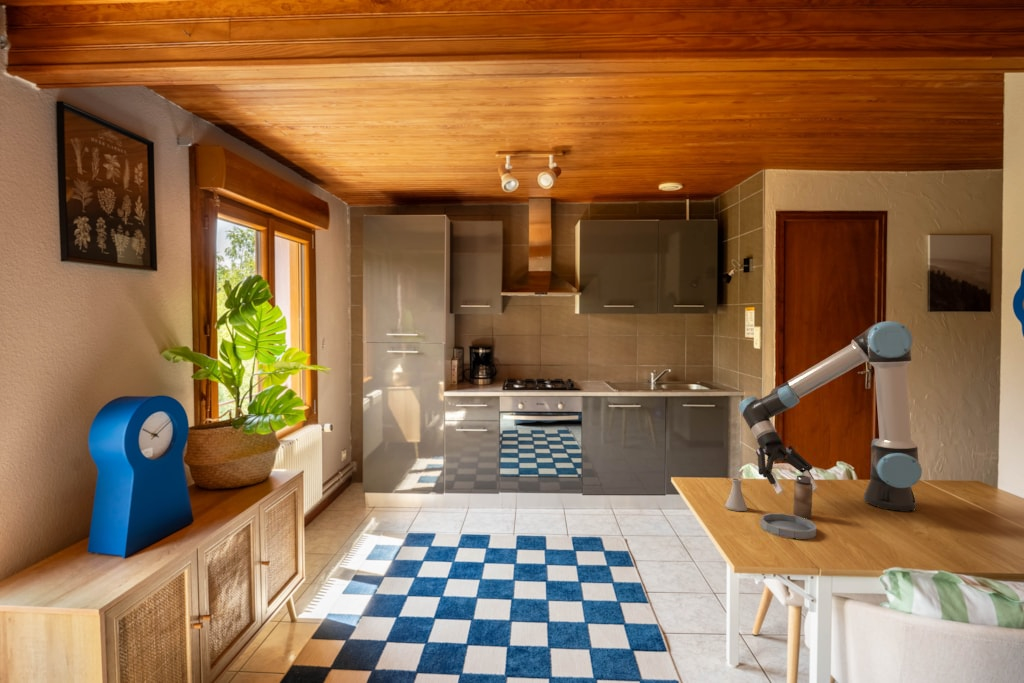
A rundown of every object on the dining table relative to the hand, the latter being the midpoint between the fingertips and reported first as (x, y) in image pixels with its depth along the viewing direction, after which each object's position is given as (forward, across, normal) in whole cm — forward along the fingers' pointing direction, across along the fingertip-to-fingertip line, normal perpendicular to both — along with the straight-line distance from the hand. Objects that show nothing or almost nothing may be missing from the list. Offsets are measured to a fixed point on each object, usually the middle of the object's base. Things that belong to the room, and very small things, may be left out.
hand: (797, 491), depth 177 cm
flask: (-1, +16, -13) cm, 21 cm away
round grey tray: (+13, +13, +2) cm, 18 cm away
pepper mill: (+7, -1, -5) cm, 8 cm away
